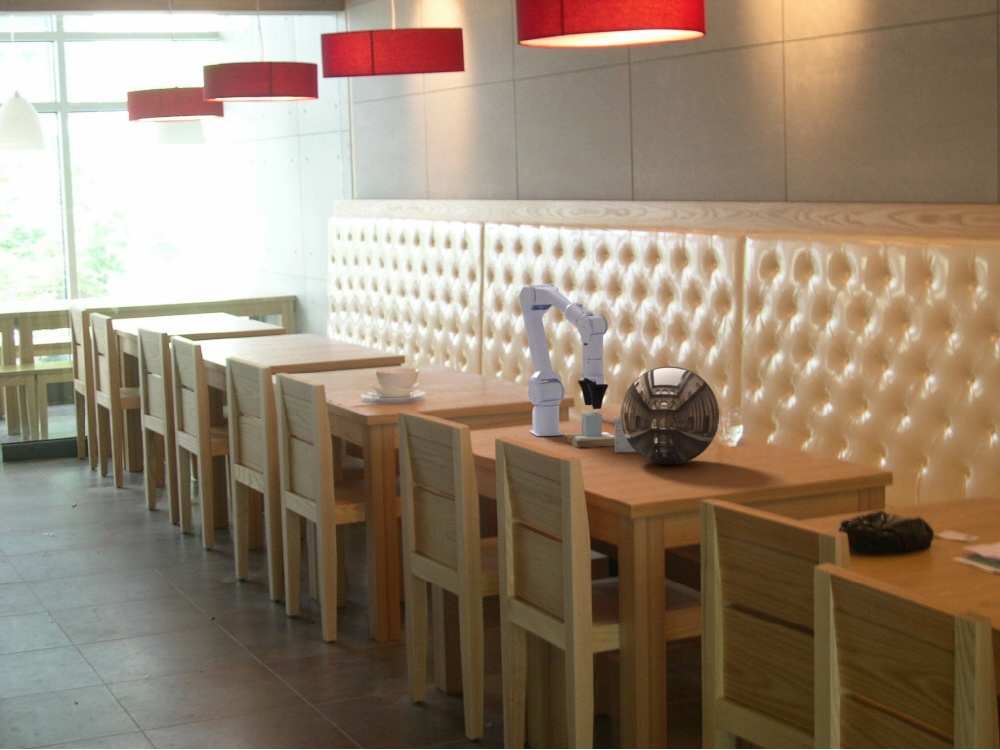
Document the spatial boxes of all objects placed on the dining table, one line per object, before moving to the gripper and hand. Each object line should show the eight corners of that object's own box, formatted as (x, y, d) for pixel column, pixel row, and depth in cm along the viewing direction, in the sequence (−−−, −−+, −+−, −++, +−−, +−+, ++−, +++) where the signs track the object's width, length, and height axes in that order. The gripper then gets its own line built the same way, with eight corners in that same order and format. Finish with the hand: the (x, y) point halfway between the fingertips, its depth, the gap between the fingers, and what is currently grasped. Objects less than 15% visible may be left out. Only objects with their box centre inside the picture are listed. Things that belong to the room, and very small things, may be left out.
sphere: (723, 456, 340) (724, 362, 337) (713, 474, 316) (713, 373, 313) (629, 453, 347) (629, 360, 344) (612, 470, 323) (612, 371, 320)
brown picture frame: (567, 442, 366) (567, 433, 365) (608, 440, 368) (608, 431, 368) (577, 448, 356) (577, 439, 356) (619, 445, 359) (619, 436, 358)
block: (581, 434, 364) (581, 413, 363) (597, 433, 365) (596, 412, 364) (586, 436, 359) (586, 415, 358) (601, 436, 360) (601, 414, 359)
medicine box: (644, 450, 352) (644, 418, 351) (644, 453, 347) (644, 421, 346) (614, 450, 353) (614, 418, 352) (614, 452, 348) (614, 421, 347)
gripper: (571, 356, 367) (572, 403, 368) (586, 361, 353) (586, 411, 354) (595, 355, 368) (595, 402, 370) (611, 361, 354) (611, 410, 356)
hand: (592, 406), depth 362 cm, fingers open, 7 cm apart
